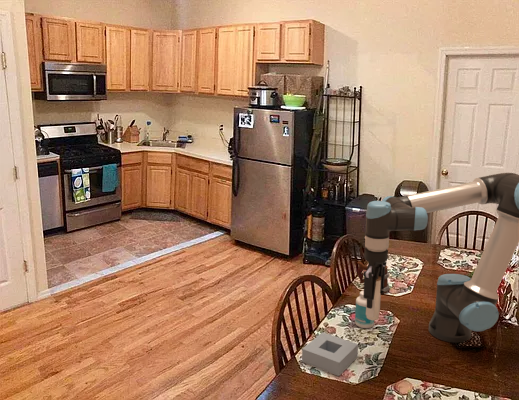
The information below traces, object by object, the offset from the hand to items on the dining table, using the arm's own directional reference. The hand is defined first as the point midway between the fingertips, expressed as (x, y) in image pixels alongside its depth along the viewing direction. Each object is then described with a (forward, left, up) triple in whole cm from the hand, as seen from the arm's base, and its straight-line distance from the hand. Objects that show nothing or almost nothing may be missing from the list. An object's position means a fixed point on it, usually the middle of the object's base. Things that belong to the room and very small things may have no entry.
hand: (372, 313), depth 161 cm
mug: (+23, -53, -17) cm, 60 cm away
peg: (0, 0, -2) cm, 2 cm away
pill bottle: (+12, -20, -17) cm, 29 cm away
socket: (+11, +10, -17) cm, 22 cm away
